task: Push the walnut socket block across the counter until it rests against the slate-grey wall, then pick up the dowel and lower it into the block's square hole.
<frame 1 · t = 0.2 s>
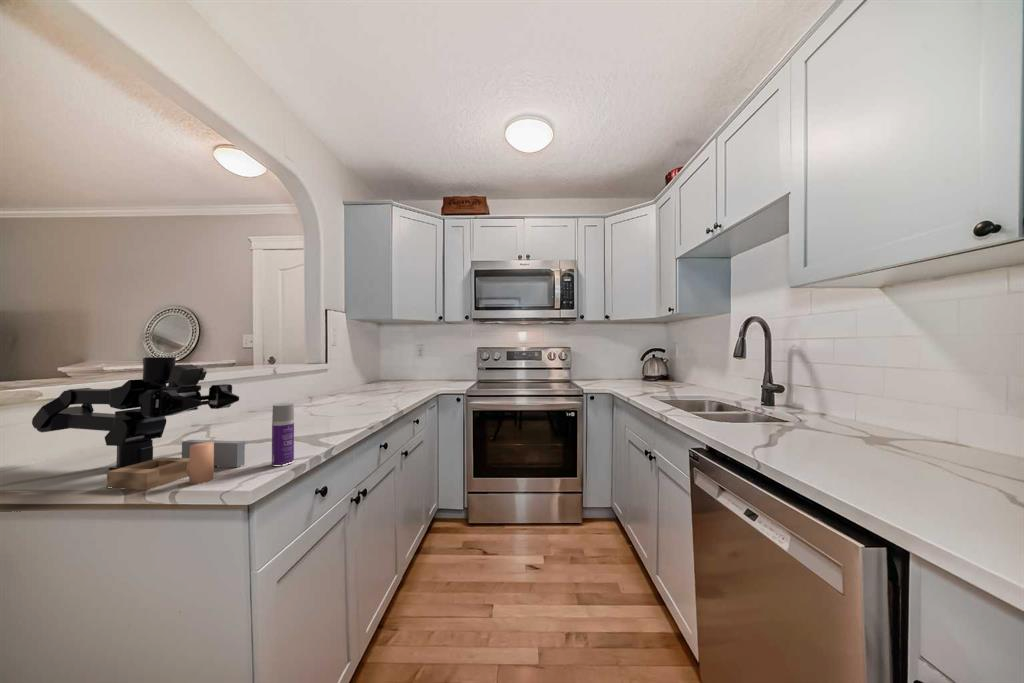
hand: (220, 400, 84), 17 cm above the countertop, tool horizontal, fingers open, 9 cm apart
backstop wall: (213, 465, 87), on the countertop
container: (282, 464, 88), on the countertop
socket block: (154, 480, 77), on the countertop
dowel: (201, 480, 76), on the countertop
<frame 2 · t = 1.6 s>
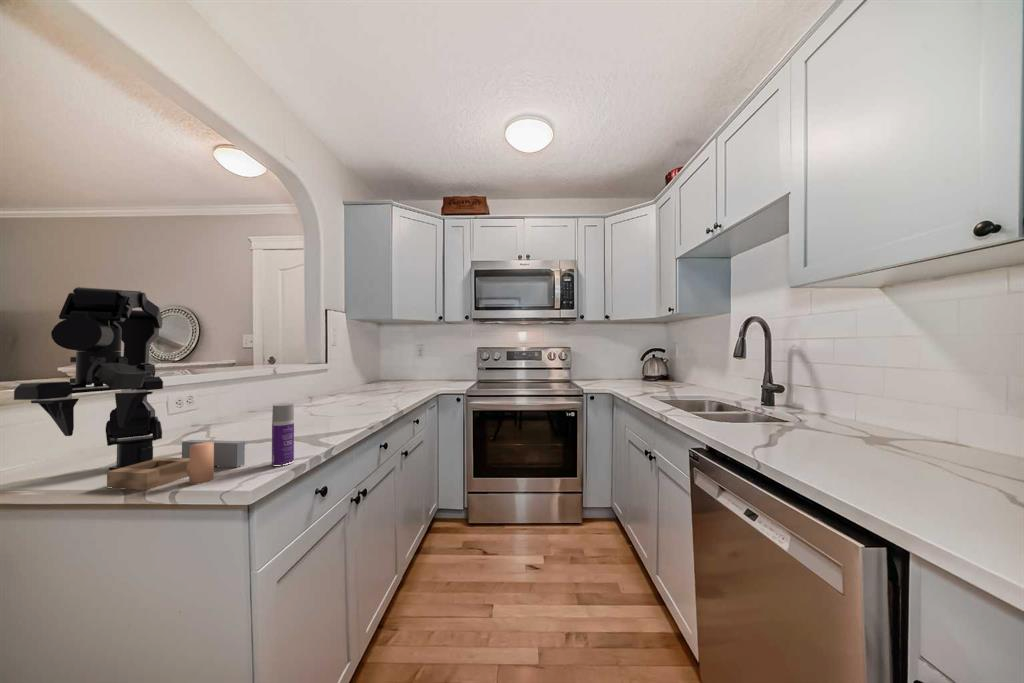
hand: (97, 431, 68), 13 cm above the countertop, tool pointing down, fingers open, 8 cm apart
nothing on the countertop moved.
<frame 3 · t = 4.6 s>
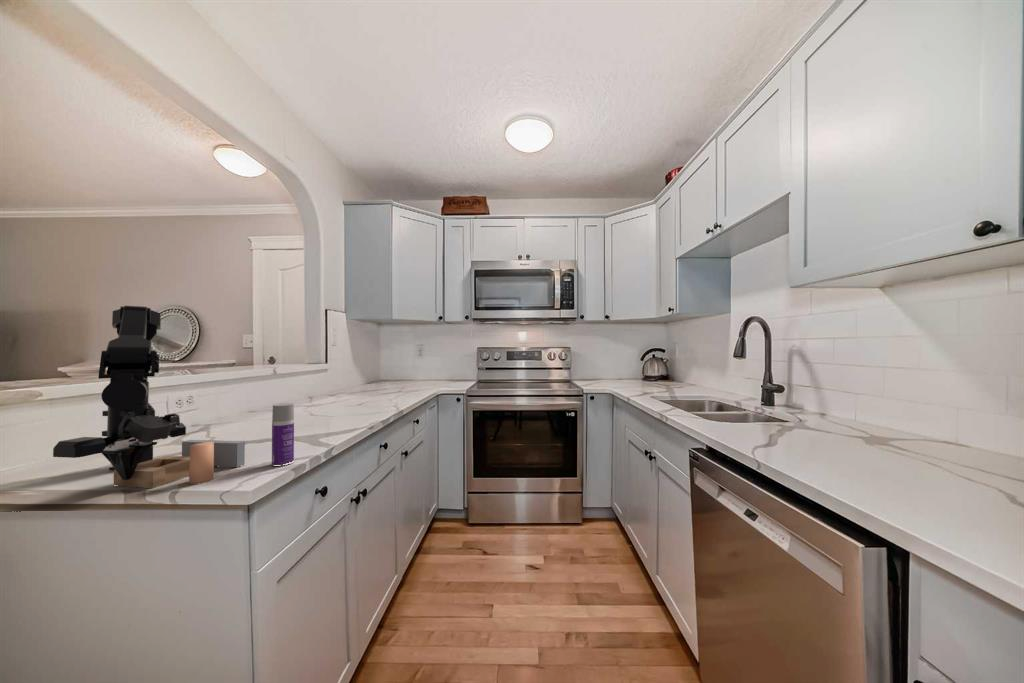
hand: (126, 479, 72), 2 cm above the countertop, tool pointing down, fingers closed
socket block: (160, 478, 78), on the countertop, touching gripper
everything else where it was.
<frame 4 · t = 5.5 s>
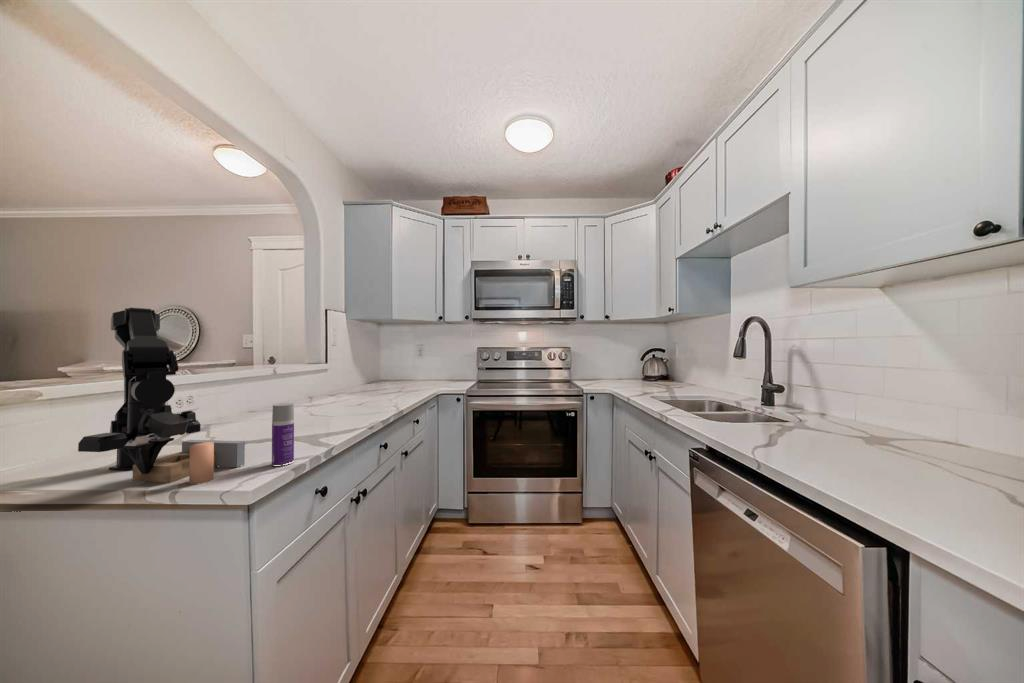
hand: (145, 473, 75), 2 cm above the countertop, tool pointing down, fingers closed
socket block: (176, 473, 81), on the countertop, touching gripper
everything else where it was.
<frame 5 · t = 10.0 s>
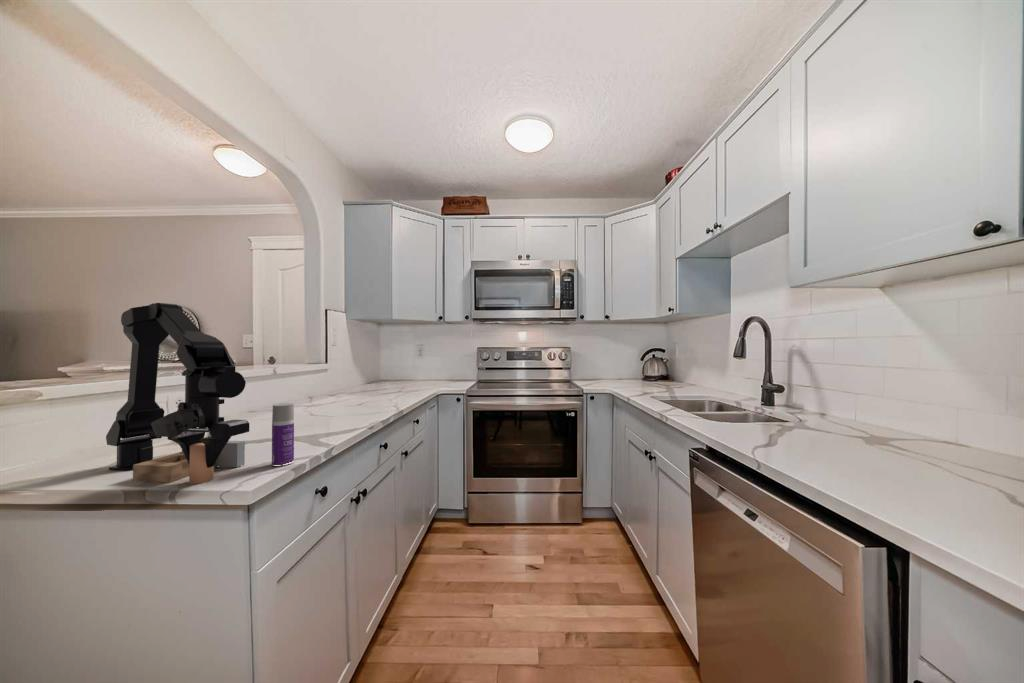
hand: (201, 466, 77), 3 cm above the countertop, tool pointing down, fingers closed on dowel, 4 cm apart
socket block: (176, 473, 81), on the countertop
dowel: (201, 480, 76), on the countertop, touching gripper
everything else where it was.
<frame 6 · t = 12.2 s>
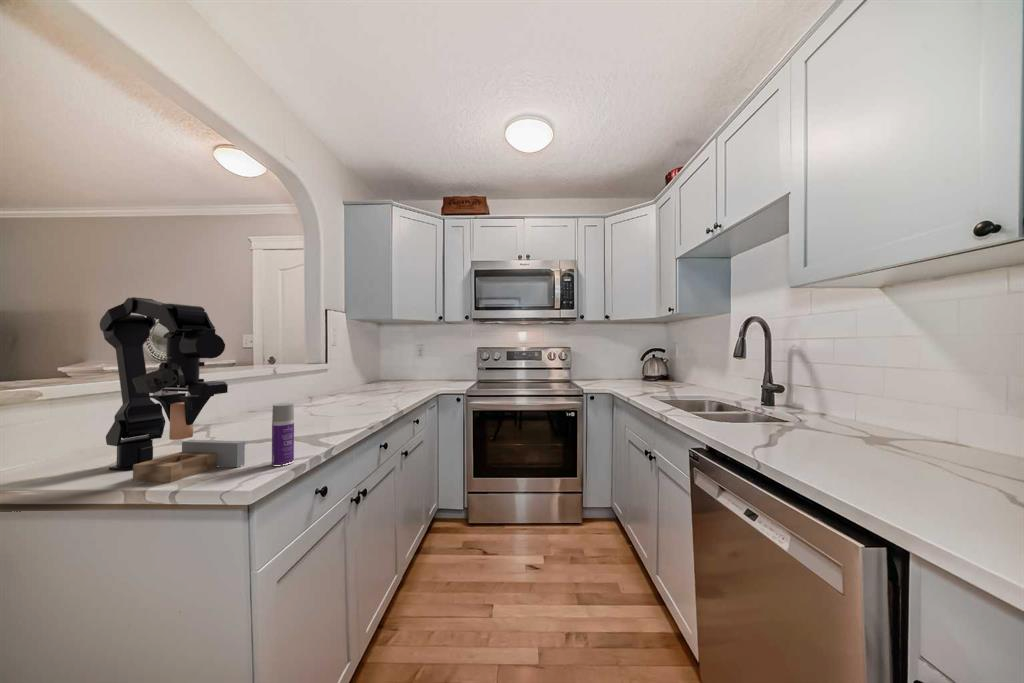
hand: (181, 424, 81), 12 cm above the countertop, tool pointing down, fingers closed on dowel, 4 cm apart
dowel: (181, 437, 81), point 9 cm above the countertop, touching gripper
everything else where it was.
when the fingers open (5 cm above the countertop, at t = 14.4 s): dowel drops 2 cm, resting in socket block.
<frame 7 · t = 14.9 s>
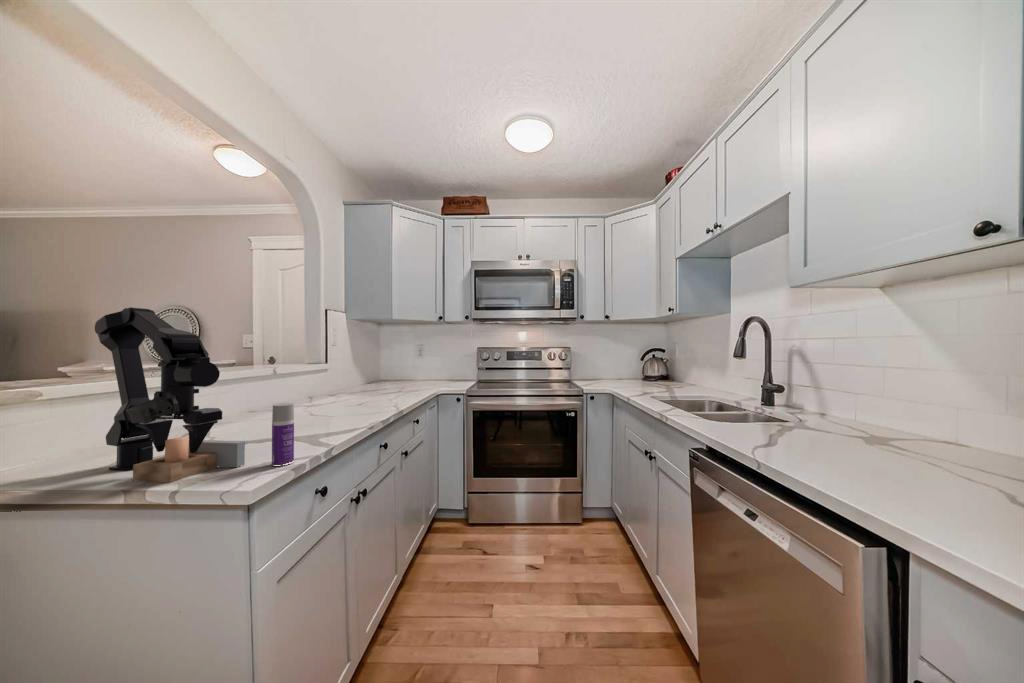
hand: (176, 452, 82), 5 cm above the countertop, tool pointing down, fingers open, 9 cm apart
dowel: (176, 473, 81), resting in socket block
everything else where it was.
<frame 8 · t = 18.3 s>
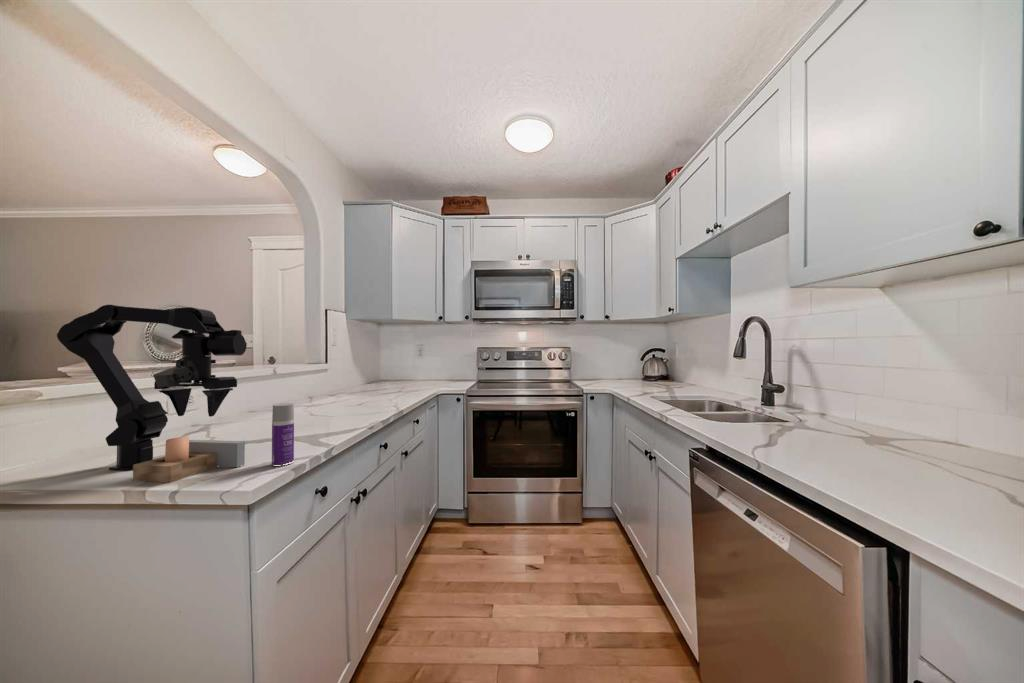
hand: (196, 416, 90), 12 cm above the countertop, tool pointing down, fingers open, 9 cm apart
nothing on the countertop moved.
at the end: dowel 0.3 cm off-centre on the socket block, point 0.0 cm above the socket block's base; socket block inside the target area (0.2 cm from its centre), on the countertop; dowel tilted 1° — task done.
